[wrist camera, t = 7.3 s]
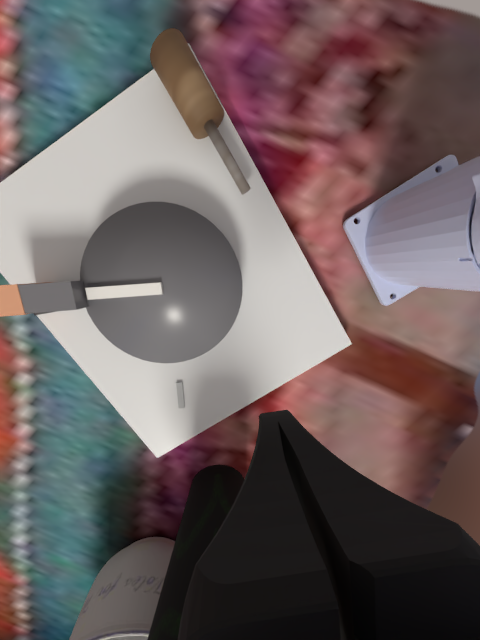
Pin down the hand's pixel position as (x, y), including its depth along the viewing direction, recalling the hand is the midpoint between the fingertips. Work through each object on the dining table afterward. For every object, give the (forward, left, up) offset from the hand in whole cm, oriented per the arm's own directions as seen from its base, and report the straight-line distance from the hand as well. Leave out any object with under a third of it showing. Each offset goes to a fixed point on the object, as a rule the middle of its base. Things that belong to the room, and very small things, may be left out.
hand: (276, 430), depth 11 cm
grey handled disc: (+4, -10, -9) cm, 14 cm away
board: (+3, -9, -10) cm, 14 cm away
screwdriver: (-5, -16, -9) cm, 19 cm away
